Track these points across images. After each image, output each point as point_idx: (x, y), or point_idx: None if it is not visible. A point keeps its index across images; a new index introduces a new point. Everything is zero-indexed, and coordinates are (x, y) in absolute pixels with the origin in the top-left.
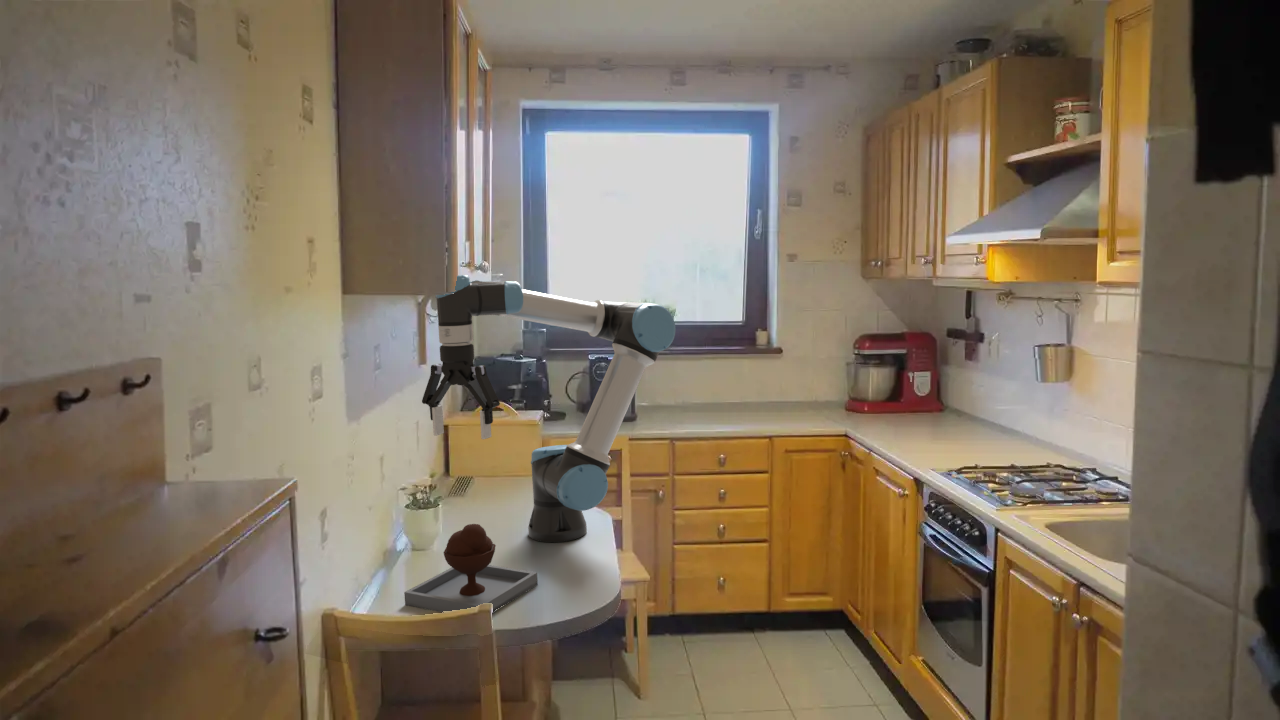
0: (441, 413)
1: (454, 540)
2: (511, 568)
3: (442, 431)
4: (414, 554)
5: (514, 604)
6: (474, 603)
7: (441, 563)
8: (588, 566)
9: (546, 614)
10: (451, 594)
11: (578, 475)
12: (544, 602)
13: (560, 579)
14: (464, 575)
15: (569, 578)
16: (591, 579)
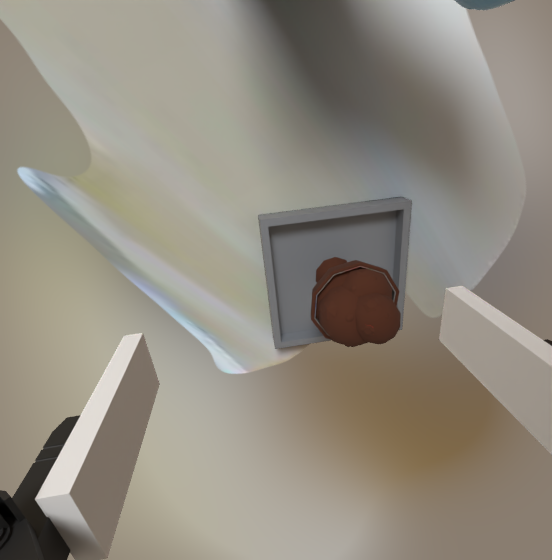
0: (104, 440)
1: (355, 345)
2: (361, 207)
3: (142, 349)
4: (93, 192)
5: None
6: None
7: (183, 202)
8: (447, 74)
9: (461, 270)
10: None
11: None
12: (442, 242)
13: (425, 158)
14: (279, 237)
15: (438, 146)
16: (475, 131)
